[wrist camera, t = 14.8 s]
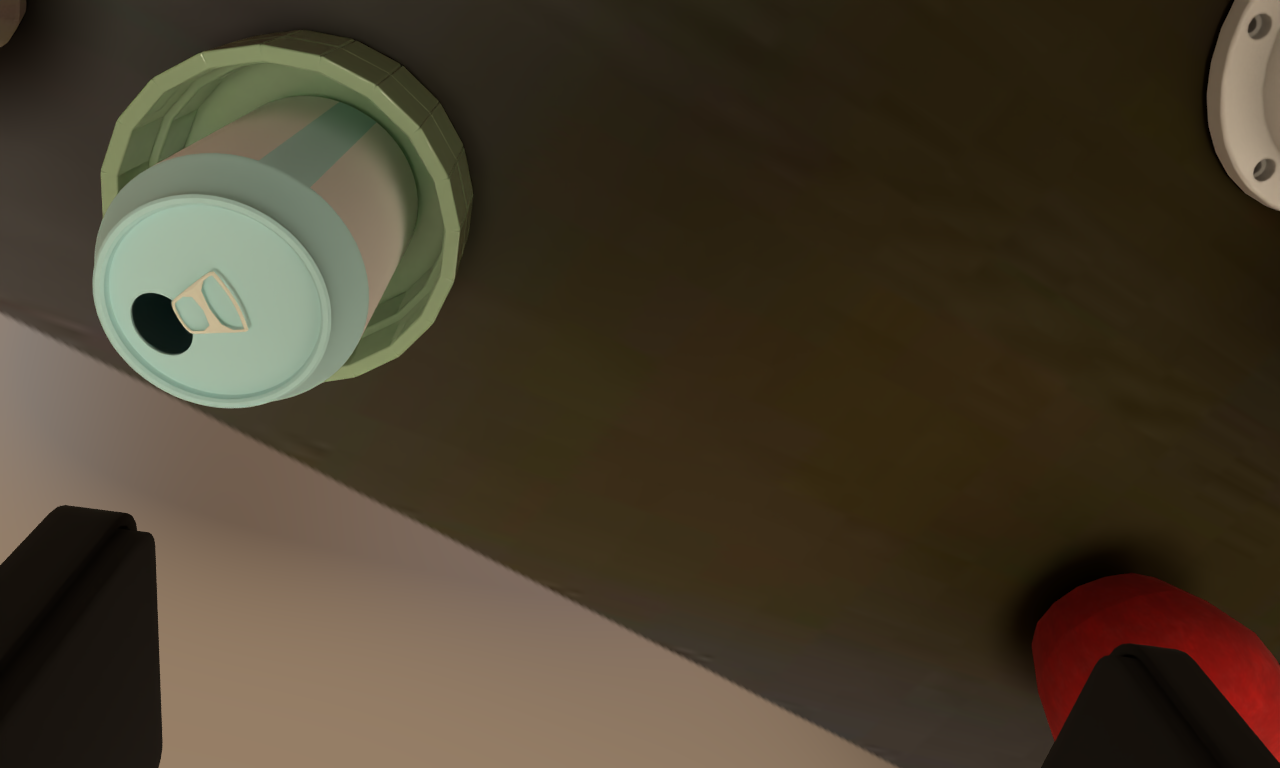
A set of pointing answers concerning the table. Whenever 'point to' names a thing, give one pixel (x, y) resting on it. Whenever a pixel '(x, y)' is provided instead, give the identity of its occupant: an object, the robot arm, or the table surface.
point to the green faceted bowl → (342, 72)
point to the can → (255, 253)
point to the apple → (1153, 617)
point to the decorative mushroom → (10, 18)
